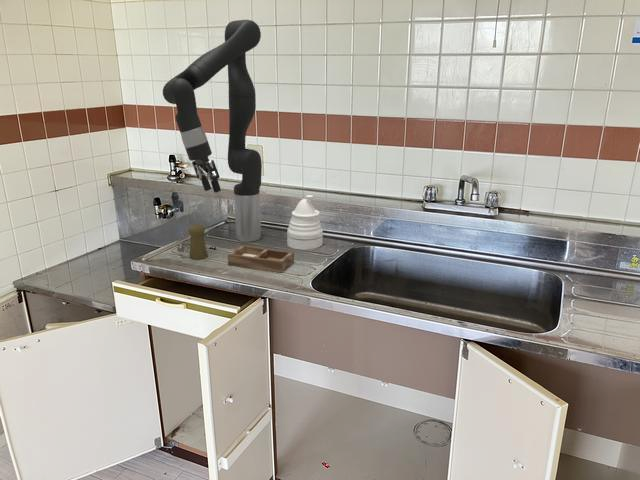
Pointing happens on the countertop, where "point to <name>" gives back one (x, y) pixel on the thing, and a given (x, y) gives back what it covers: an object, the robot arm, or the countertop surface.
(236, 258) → the spice caddy
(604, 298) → the countertop surface
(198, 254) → the cork
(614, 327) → the countertop surface
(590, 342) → the countertop surface
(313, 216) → the honey pot
